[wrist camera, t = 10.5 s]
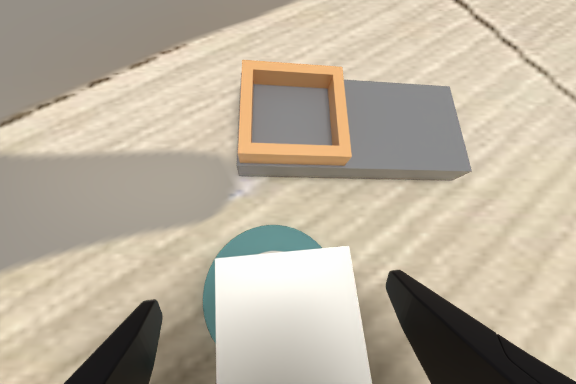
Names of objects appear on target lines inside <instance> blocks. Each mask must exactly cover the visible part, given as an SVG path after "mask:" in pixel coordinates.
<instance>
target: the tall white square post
mask: <svg viewBox="0 0 576 384" xmlns="http://www.w3.org/2000/svg"><path fill="white" fill-rule="evenodd" d="M215 305H216V384H372V380H371V374H370V368H369V362H368V356H367V350H366V344H365V338H364V332H363V326H362V320H361V314H360V308H359V302H358V296H357V291H356V285H355V279H354V273H353V267H352V261H351V255H350V249H349V246H342V247H331V248H321V249H310V250H300V251H289V252H282V251H268V252H264V253H260V254H258V255H247V256H237V257H226V258H216V259H215Z"/></svg>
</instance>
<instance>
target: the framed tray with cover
mask: <svg viewBox="0 0 576 384" xmlns="http://www.w3.org/2000/svg"><path fill="white" fill-rule="evenodd" d="M237 168H238V173H239V176H274V177H322V178H370V179H419V180H454V179H456V178H458V177H461V176H463V175H465V174H467V173H469V172H471V171H472V170H471V166H470V163H469V159H468V155H467V151H466V147H465V144H464V140H463V136H462V132H461V128H460V125H459V121H458V117H457V113H456V109H455V106H454V102H453V98H452V94H451V90H450V87H448V86H433V85H417V84H402V83H387V82H372V81H356V80H344V78H343V69H342V67H336V66H322V65H308V64H294V63H279V62H265V61H251V60H242V73H241V88H240V109H239V130H238V151H237Z"/></svg>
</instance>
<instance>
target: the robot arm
mask: <svg viewBox="0 0 576 384" xmlns="http://www.w3.org/2000/svg"><path fill="white" fill-rule="evenodd" d="M386 290H387V293H388V295H389V298H390V300H391V303H392V305H393V308H394V310H395V312H396V315H397V317H398V320H399V322H400V324H401V327H402V329H403V331H404V333H405V335H406V337H407V339H408V341H409V342H410V344H411V346H412V348H413V350H414V352H415V354H416V356H417V358H418V360H419V361H420V363H421V365H422V367H423V369H424V371H425V373H426V375H427V377H428V379H429V380H430V382H431V384H576V382H575V381H574V380H572V379H570V378H569V377H567V376H565V375H563V374H562V373H560V372H558V371H557V370H555V369H553V368H551V367H550V366H548V365H546V364H545V363H543V362H541V361H540V360H538V359H536V358H535V357H533V356H531V355H530V354H528V353H527V352H525V351H524V350H522V349H520V348H519V347H517V346H516V345H514V344H513V343H511V342H509V341H508V340H506V339H505V338H503V337H502V336H500V335H499V334H496V332H494V331H493V330H491V329H490V328H488V327H486V326H485V325H483V324H482V323H480V322H479V321H477V320H476V319H474V318H473V317H471V316H470V315H468V314H467V313H465V312H464V311H462V310H461V309H459V308H458V307H456V306H454V305H453V304H451V303H450V302H448V301H447V300H445V299H444V298H442V297H441V296H439V295H438V294H436V293H435V292H433V291H432V290H430V289H429V288H427V287H426V286H424V285H423V284H421V283H419V282H418V281H416V280H415V279H413V278H412V277H410V276H409V275H407V274H406V273H404V272H403V271H401V270H393V271H390V272H389V274H388V278H387V282H386ZM161 324H162V312H161V309H160V307H159V304H158V301H157V300H155V299H153V300H146V301H143V302H142V303H141V304H140V305H139V306H138V307H137V308H136V309H135V310H134V311H133V312H132V313H131V314H130V315H129V316H128V317H127V318H126V320H125V321H124V322H123V323H122V324H121V325H120V326H119V327H118V328H117V329H116V330H115V331H114V332H113V333H112V334H111V335H110V336H109V337H108V338H107V339H106V340H105V341H104V342H103V343H102V344H101V345H100V346H99V348H98V349H97V350H96V351H95V352H94V353H93V354H92V355H91V356H90V357H89V358H88V359H87V360H86V361H85V362H84V363H83V364H82V365H81V366H80V367H79V368H78V369H77V370H76V371H75V372H74V373H73V375H72V376H71V377H70V378H69V379H68V380H67V381H66V382H65V383H64V384H149V381H150V377H151V374H152V370H153V366H154V361H155V356H156V351H157V346H158V340H159V335H160V330H161Z"/></svg>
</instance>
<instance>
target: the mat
mask: <svg viewBox="0 0 576 384" xmlns="http://www.w3.org/2000/svg"><path fill="white" fill-rule="evenodd" d="M321 248H322V247H321V246H320V245H319V244H318V243H317V242H316V241H314V240H313V239H312V238H311V237H309V236H308V235H306V234H304V233H303V232H301V231H299V230H296V229H294V228H290V227H287V226H280V225H266V226H260V227H256V228H253V229H250V230H247V231H245V232H243V233H241V234H240V235H238V236H236V237H235V238H234V239H232V240H231V241H230V242H229V243H228V244H227V245H225V246H224V248H223V249H222V250H221V251H220V252H219V254H218V255H217V257H216V258H226V257H237V256H247V255H258V254H260V253H264V252H268V251H282V252H289V251H300V250H310V249H321ZM216 258H215V259H216ZM203 311H204V317H205V321H206V324H207V328H208V330H209V332H210V335H211V337H212V338H213V340H214V342H215V343H216V305H215V260H214V261H213V263H212V265H211V267H210V269H209V272H208V274H207V277H206V281H205V285H204V292H203Z"/></svg>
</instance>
